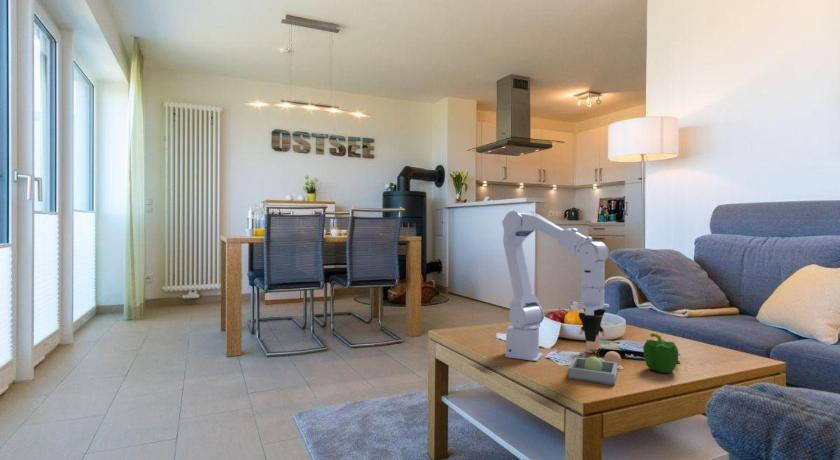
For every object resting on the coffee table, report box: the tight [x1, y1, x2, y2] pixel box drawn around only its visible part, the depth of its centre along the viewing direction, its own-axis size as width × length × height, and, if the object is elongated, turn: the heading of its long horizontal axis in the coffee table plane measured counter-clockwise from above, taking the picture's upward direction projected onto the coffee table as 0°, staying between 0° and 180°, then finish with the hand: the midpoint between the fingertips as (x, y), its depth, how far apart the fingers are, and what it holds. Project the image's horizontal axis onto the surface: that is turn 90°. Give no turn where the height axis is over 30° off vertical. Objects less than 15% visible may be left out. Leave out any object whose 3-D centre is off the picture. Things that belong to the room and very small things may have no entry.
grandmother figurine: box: [578, 325, 607, 354], centre depth 143 cm, size 8×4×13 cm, turn 84°
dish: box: [567, 356, 618, 386], centre depth 119 cm, size 11×11×3 cm
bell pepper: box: [642, 332, 679, 374], centre depth 124 cm, size 8×8×10 cm
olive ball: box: [585, 356, 602, 372], centre depth 119 cm, size 4×4×4 cm
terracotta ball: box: [603, 350, 622, 368], centre depth 127 cm, size 4×4×4 cm
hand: (592, 337), depth 120 cm, fingers open, 7 cm apart
